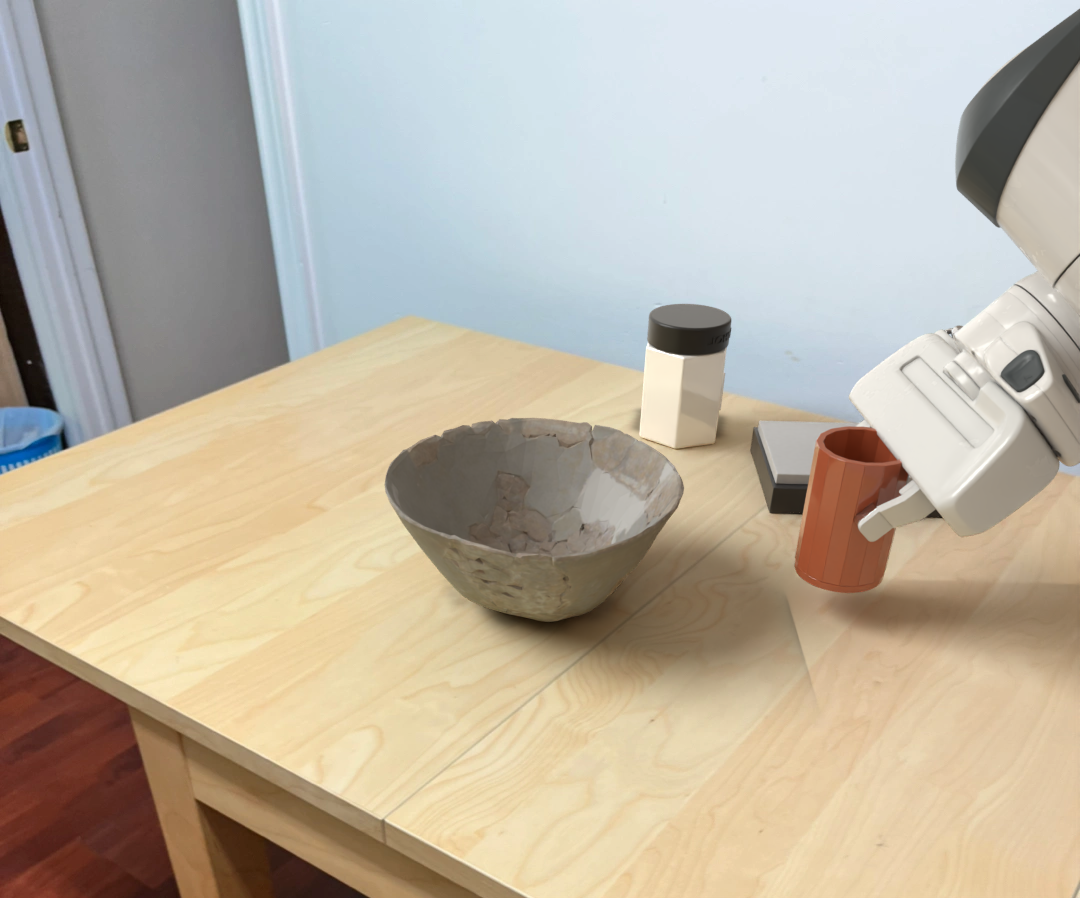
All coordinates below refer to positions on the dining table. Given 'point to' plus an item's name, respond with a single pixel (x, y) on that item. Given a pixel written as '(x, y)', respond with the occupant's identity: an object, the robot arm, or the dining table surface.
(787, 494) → the kitchen scale
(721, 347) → the jar
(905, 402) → the robot arm
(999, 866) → the dining table surface
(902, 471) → the cup
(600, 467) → the ceramic bowl
